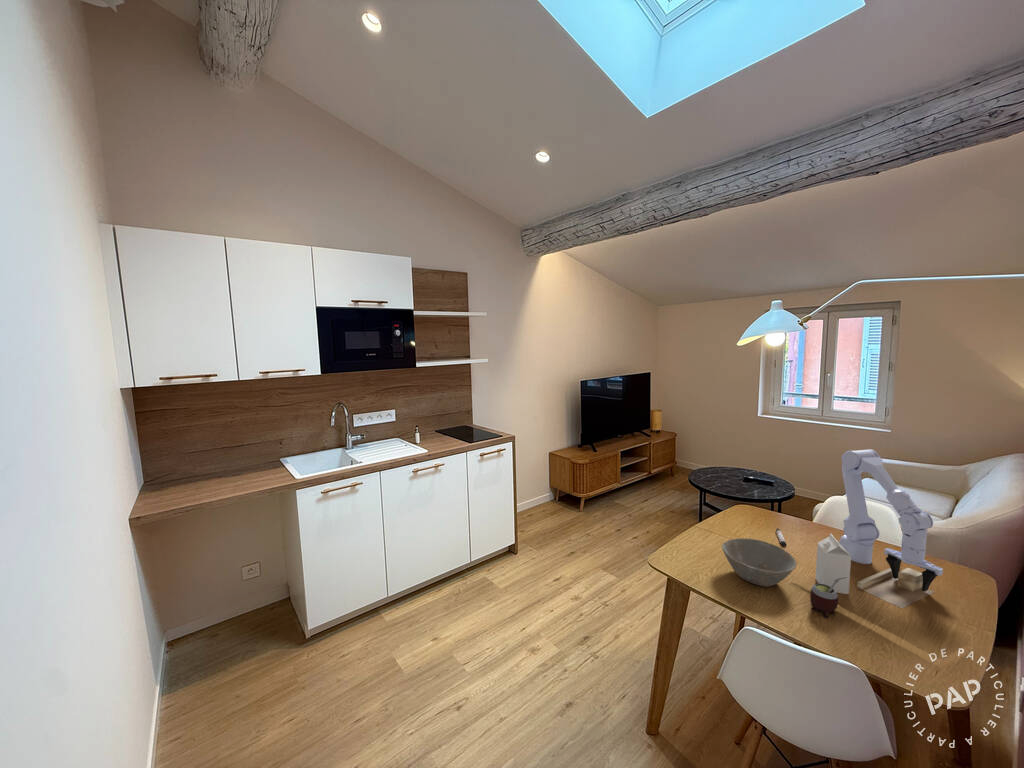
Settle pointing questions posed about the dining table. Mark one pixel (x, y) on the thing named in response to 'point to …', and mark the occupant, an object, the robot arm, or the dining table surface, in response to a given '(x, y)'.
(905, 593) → the pale wooden board
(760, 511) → the dining table surface
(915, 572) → the block
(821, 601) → the mate gourd
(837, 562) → the milk carton
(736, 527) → the dining table surface
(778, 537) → the marker
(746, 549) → the ceramic bowl
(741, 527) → the dining table surface
